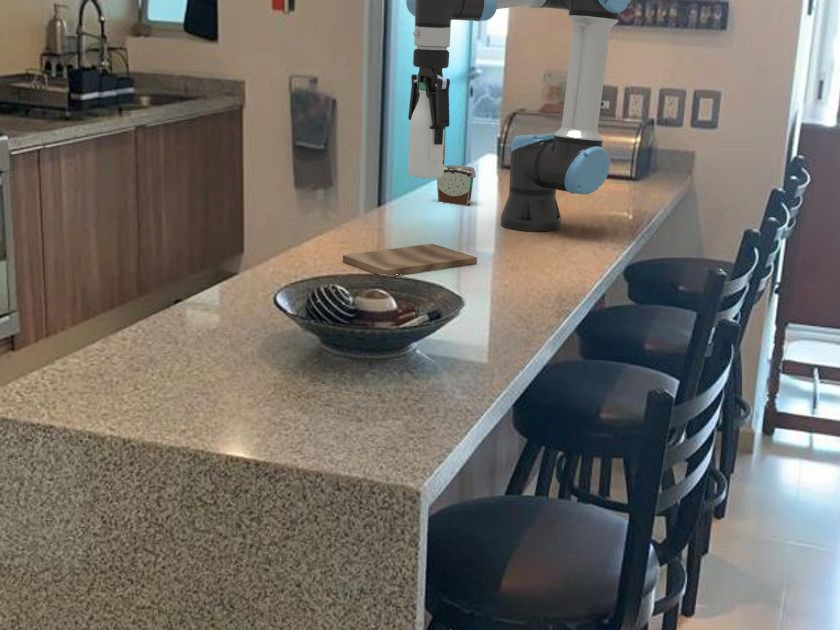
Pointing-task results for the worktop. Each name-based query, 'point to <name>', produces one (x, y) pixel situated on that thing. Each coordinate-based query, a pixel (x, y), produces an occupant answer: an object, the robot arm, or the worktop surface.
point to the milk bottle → (423, 141)
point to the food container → (456, 185)
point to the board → (409, 259)
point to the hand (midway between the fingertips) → (426, 157)
